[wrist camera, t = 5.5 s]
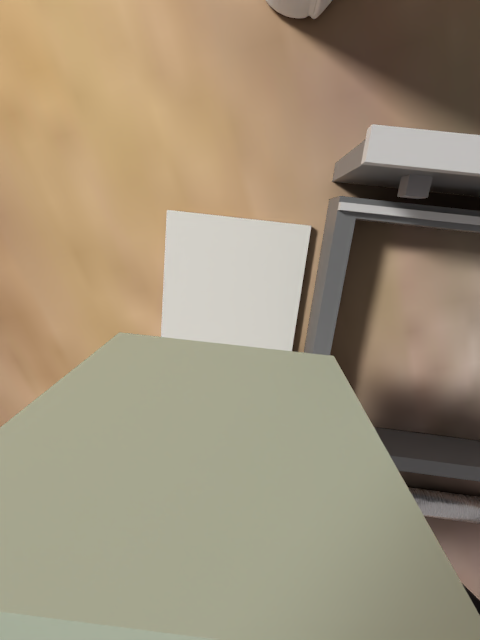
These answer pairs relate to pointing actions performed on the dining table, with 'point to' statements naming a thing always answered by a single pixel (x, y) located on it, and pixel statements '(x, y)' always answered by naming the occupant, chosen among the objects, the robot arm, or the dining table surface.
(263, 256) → the pad
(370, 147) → the case lid open
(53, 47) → the dining table surface
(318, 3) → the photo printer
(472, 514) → the rod
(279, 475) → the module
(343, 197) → the case base
